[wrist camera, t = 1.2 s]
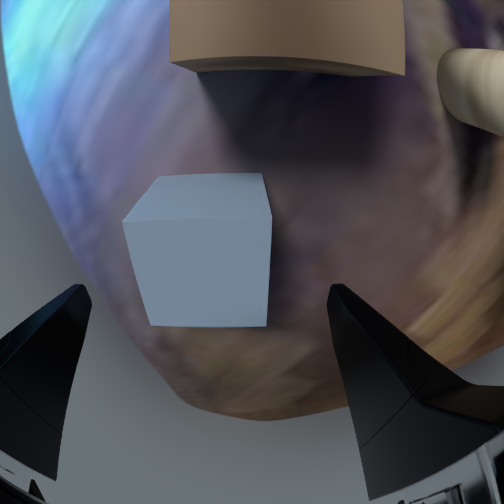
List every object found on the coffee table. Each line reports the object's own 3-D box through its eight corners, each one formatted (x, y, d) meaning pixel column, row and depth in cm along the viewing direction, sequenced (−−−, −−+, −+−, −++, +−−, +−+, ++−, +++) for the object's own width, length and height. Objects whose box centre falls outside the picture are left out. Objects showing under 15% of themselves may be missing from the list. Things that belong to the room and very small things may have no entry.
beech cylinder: (488, 64, 9) (548, 75, 5) (484, 130, 11) (541, 156, 7) (437, 37, 9) (502, 35, 4) (434, 112, 11) (499, 133, 7)
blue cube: (261, 172, 13) (271, 217, 9) (259, 259, 16) (266, 326, 12) (158, 175, 13) (122, 221, 9) (171, 260, 16) (150, 325, 11)
